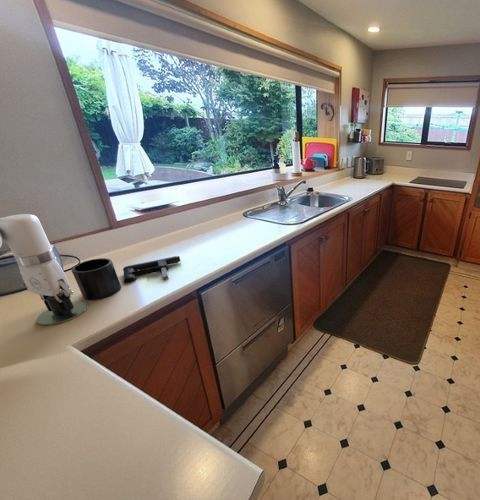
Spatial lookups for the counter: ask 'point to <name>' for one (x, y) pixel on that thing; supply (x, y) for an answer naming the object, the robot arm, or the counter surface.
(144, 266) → the door handle
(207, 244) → the counter surface
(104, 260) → the canister
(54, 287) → the robot arm
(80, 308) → the lid
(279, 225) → the counter surface
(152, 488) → the counter surface
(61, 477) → the counter surface
